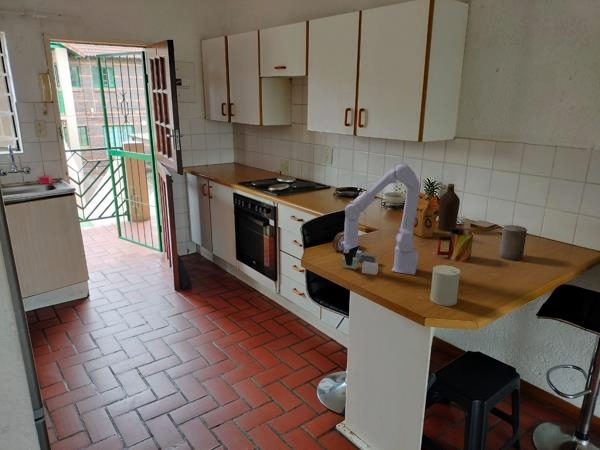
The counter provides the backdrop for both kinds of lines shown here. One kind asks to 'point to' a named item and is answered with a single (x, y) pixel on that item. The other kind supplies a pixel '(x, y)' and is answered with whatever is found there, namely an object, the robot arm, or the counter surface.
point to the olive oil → (448, 210)
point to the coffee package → (424, 217)
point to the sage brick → (354, 263)
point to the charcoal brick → (368, 257)
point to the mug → (457, 245)
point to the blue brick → (358, 255)
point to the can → (445, 285)
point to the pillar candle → (513, 242)
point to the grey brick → (370, 268)
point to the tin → (338, 241)
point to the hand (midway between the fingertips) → (350, 263)
